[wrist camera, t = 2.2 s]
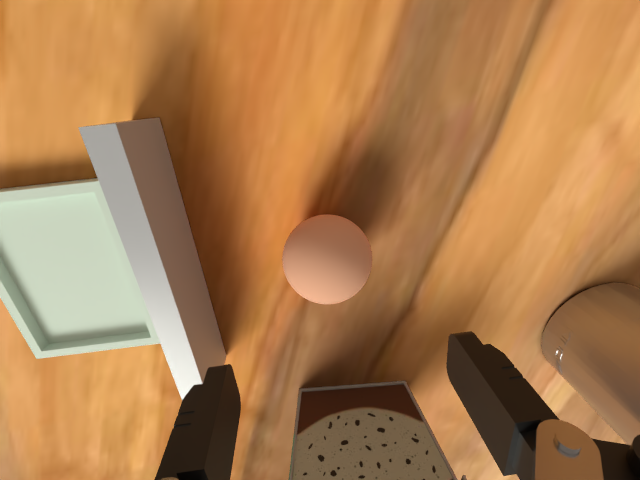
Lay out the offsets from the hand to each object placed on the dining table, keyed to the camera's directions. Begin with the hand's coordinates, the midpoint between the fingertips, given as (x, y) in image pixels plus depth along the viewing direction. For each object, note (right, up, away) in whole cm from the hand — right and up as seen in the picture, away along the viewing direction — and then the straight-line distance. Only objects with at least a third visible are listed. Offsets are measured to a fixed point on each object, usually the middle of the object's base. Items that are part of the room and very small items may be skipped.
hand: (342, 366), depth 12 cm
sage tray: (-17, +3, +10) cm, 20 cm away
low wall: (-10, +3, +10) cm, 15 cm away
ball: (-1, +5, +11) cm, 12 cm away
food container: (+2, -11, +18) cm, 21 cm away
